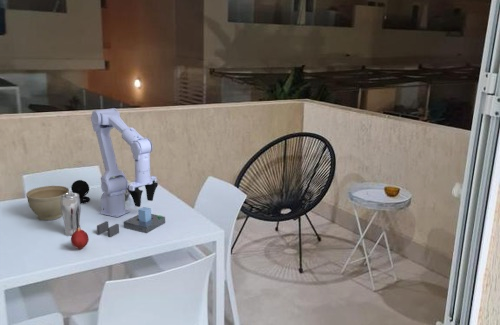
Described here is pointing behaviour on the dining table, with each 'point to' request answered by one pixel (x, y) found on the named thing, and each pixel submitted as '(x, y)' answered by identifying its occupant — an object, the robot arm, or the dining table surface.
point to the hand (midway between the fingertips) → (144, 203)
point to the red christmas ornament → (79, 239)
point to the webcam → (81, 190)
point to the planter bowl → (46, 201)
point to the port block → (144, 223)
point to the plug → (144, 214)
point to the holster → (108, 229)
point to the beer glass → (71, 212)
